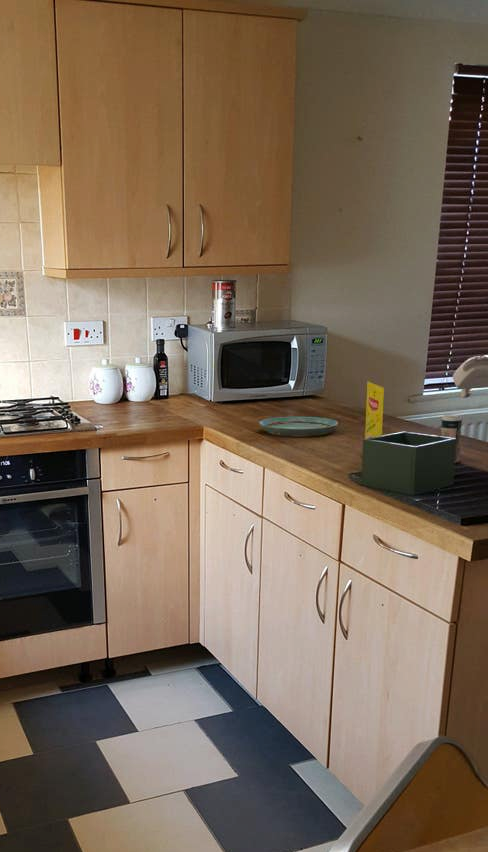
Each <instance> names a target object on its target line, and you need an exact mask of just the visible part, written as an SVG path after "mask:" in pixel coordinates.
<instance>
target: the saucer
mask: <svg viewBox="0 0 488 852" xmlns="http://www.w3.org/2000/svg"><path fill="white" fill-rule="evenodd" d="M290 421H291V422H292V421H301V422H302V421H303V422H316V423H317V422H318V423H323V424H327V425H330V426H327V425H322V424H310V423H290V424H278V425H272V426H266V425H268V424H272V423H277V422H290ZM338 423H339V422H338V421H336V420H335V419H330V418H325V417H319V416H318V417H315V416H280V417H271V418H266V419H262V420H260V421H259V425H260V427H261V428H262V430H263V431H264V432H266V433H267V434H268V435H272V436H277V437H283V438H284V437H285V438H310V437H319V436H320V437H321V436H325V435H328V434H330V433H331V432H333V431H334V430H335V429H336V427H337V426H338ZM267 431H268V432H267ZM271 432H273V433H271ZM278 433H280V434H278Z"/></svg>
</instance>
